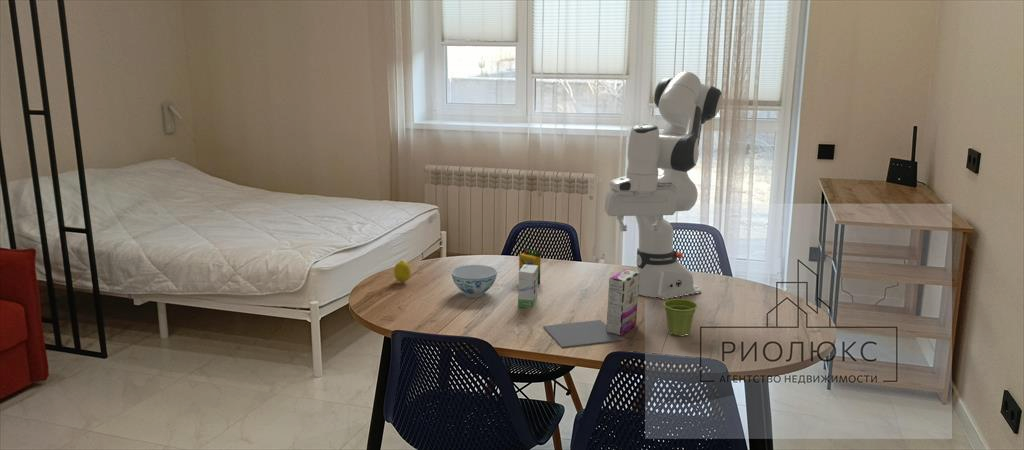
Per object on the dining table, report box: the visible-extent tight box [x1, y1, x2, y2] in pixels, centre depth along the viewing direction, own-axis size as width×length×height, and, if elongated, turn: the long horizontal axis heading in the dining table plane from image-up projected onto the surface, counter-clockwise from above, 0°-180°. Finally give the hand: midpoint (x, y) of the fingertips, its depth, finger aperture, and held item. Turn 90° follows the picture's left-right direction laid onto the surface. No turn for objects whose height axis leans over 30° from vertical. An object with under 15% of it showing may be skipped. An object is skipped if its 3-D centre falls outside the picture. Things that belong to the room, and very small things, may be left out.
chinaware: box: [450, 264, 498, 298], centre depth 255 cm, size 15×15×8 cm
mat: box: [542, 319, 624, 349], centre depth 222 cm, size 18×16×1 cm
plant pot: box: [663, 298, 698, 336], centre depth 222 cm, size 9×9×9 cm
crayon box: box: [518, 247, 542, 285], centre depth 266 cm, size 7×3×12 cm, turn 49°
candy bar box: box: [606, 269, 640, 336], centre depth 223 cm, size 11×5×16 cm, turn 148°
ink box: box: [517, 264, 539, 309], centre depth 245 cm, size 9×5×12 cm, turn 168°
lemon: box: [393, 260, 411, 284], centre depth 266 cm, size 6×6×8 cm
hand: (639, 230), depth 222 cm, fingers open, 8 cm apart
